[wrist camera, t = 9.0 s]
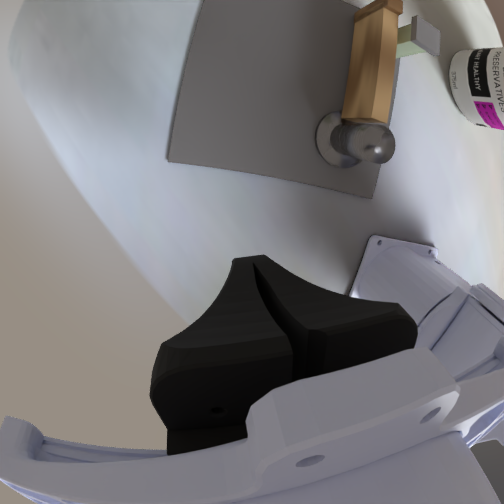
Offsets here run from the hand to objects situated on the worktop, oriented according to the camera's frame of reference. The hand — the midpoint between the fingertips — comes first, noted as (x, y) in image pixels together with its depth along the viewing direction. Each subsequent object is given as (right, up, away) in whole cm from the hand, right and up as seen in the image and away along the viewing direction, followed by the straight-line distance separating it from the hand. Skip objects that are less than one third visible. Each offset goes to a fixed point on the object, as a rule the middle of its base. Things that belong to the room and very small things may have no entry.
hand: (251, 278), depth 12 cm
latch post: (+11, +17, +5) cm, 21 cm away
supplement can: (+22, +18, +7) cm, 29 cm away
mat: (+4, +14, +5) cm, 15 cm away
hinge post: (+7, +10, +8) cm, 14 cm away
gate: (+8, +15, +5) cm, 18 cm away
